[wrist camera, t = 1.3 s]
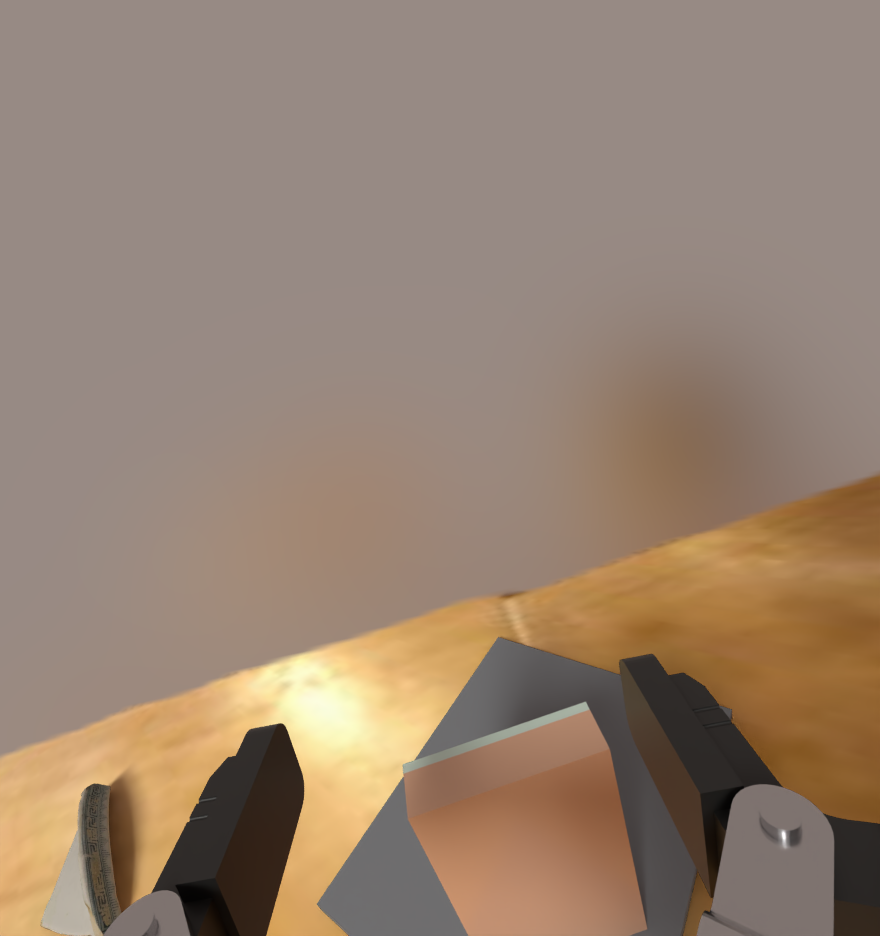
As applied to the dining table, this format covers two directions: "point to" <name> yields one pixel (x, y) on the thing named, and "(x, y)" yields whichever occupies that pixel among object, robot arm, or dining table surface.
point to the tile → (529, 830)
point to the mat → (483, 713)
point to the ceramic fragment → (86, 874)
